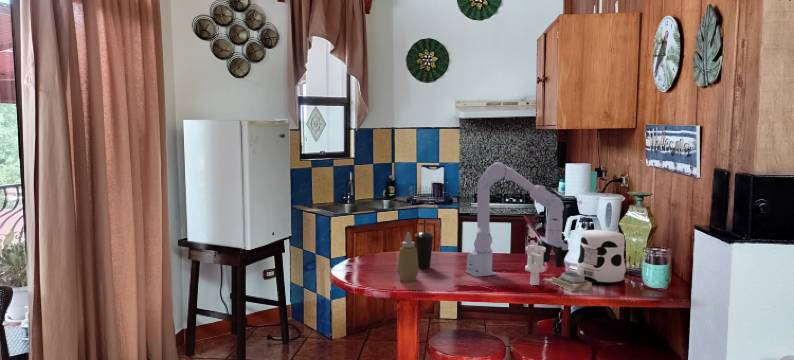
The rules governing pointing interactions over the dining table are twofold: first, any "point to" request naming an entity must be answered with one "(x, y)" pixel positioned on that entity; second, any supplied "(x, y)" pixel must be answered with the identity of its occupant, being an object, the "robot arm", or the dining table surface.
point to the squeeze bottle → (408, 260)
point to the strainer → (535, 262)
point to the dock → (570, 284)
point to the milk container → (601, 256)
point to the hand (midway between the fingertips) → (552, 264)
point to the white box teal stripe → (572, 278)
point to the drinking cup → (424, 248)
